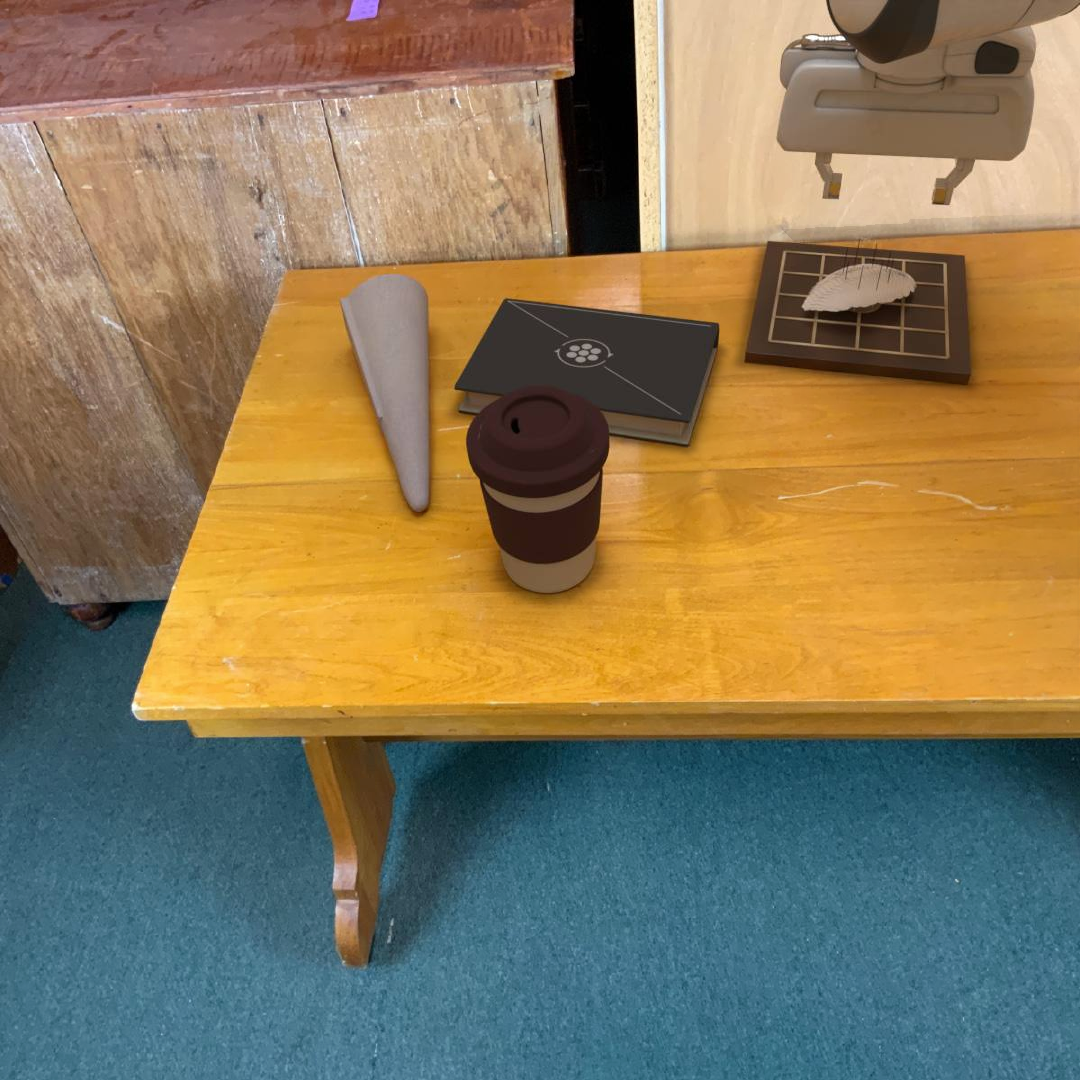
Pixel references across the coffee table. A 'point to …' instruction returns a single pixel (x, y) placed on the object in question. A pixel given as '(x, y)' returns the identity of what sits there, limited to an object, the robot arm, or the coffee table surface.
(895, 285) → the pincushion
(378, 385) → the grey tapered cone
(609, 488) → the coffee table surface
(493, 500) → the coffee cup
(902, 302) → the board
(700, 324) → the book
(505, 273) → the coffee table surface
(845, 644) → the coffee table surface
